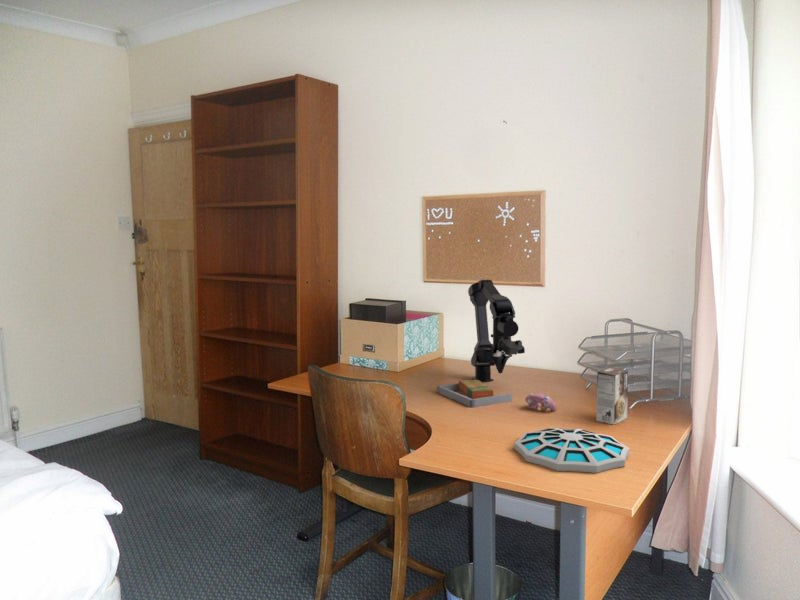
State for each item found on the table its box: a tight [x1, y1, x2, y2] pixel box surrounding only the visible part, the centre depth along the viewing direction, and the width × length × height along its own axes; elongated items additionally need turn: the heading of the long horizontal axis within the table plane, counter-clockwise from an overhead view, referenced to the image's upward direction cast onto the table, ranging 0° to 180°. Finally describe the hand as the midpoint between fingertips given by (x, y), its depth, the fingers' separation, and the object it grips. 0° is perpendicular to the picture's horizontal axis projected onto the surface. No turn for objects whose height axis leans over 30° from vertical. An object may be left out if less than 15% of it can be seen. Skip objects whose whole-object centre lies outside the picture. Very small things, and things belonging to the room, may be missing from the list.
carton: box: [457, 379, 494, 399], centre depth 229 cm, size 8×16×4 cm, turn 13°
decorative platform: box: [513, 427, 631, 474], centre depth 168 cm, size 31×29×5 cm
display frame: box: [436, 382, 513, 408], centre depth 226 cm, size 23×17×2 cm
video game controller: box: [525, 392, 558, 412], centre depth 208 cm, size 10×5×7 cm, turn 48°
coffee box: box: [596, 366, 629, 426], centre depth 196 cm, size 9×6×16 cm
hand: (500, 373), depth 231 cm, fingers closed
